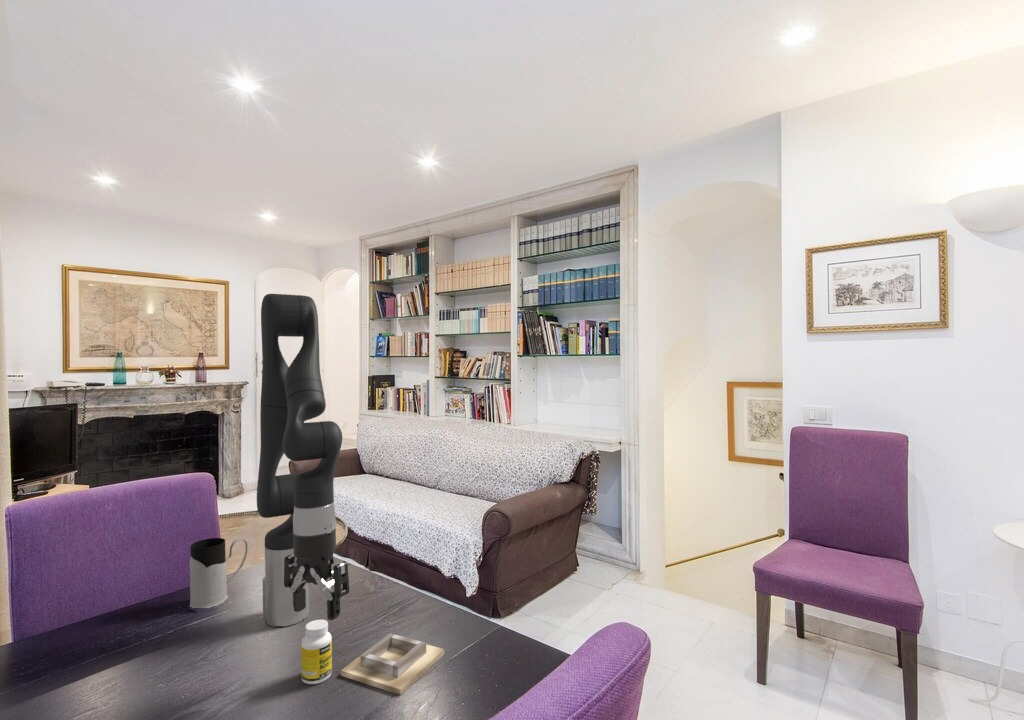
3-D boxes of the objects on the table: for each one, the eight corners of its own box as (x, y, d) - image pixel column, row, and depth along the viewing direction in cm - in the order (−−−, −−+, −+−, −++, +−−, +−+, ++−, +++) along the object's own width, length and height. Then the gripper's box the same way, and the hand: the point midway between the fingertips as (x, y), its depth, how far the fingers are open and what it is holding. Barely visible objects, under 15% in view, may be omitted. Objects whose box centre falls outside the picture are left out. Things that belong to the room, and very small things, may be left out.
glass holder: (181, 605, 127) (180, 544, 127) (239, 584, 138) (238, 529, 139) (198, 615, 122) (197, 551, 122) (256, 592, 133) (256, 534, 134)
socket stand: (340, 675, 97) (340, 659, 97) (388, 639, 109) (388, 625, 109) (400, 695, 91) (400, 678, 91) (444, 654, 103) (443, 639, 103)
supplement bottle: (321, 687, 94) (321, 633, 94) (295, 683, 95) (294, 630, 95) (337, 669, 99) (336, 618, 99) (312, 666, 100) (311, 616, 100)
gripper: (271, 529, 97) (273, 616, 96) (327, 538, 91) (329, 631, 90) (303, 518, 103) (304, 599, 103) (357, 526, 97) (359, 612, 97)
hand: (316, 614), depth 97 cm, fingers open, 8 cm apart
